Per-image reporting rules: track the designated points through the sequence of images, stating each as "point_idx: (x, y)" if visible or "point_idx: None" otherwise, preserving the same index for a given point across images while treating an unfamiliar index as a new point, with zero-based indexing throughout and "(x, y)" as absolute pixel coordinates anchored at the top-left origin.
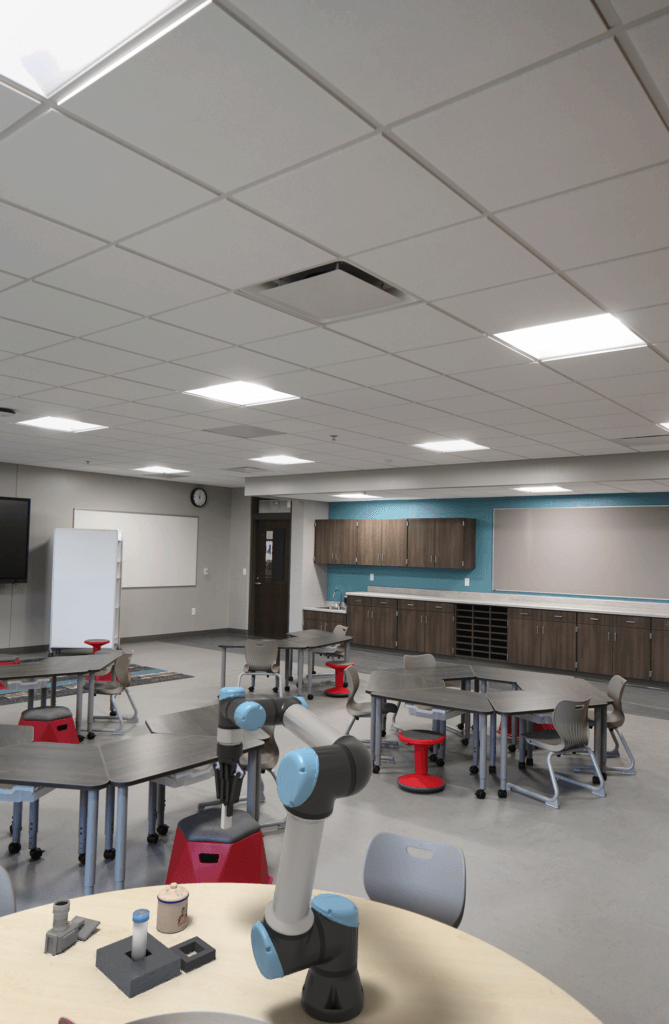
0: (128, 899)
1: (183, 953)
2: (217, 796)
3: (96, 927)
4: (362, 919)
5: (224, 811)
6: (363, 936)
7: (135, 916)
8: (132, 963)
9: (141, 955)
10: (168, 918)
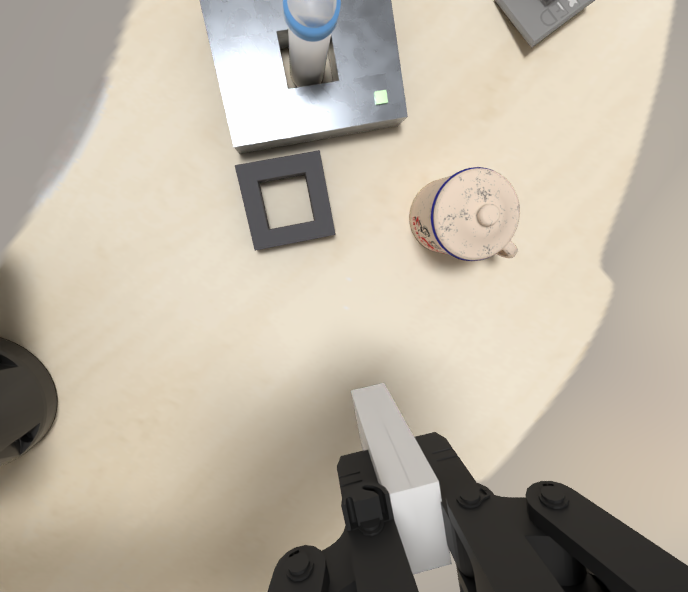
0: (615, 169)
1: (277, 174)
2: (553, 499)
3: (521, 34)
4: (242, 588)
5: (374, 456)
6: (180, 560)
7: None
8: (271, 23)
9: (289, 56)
10: (427, 191)
